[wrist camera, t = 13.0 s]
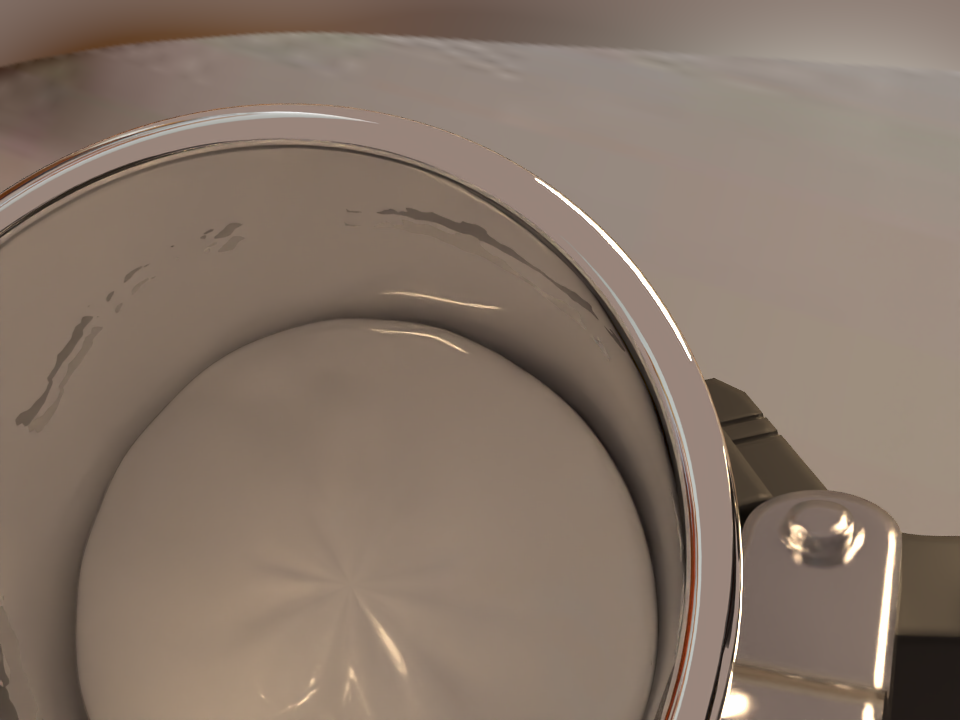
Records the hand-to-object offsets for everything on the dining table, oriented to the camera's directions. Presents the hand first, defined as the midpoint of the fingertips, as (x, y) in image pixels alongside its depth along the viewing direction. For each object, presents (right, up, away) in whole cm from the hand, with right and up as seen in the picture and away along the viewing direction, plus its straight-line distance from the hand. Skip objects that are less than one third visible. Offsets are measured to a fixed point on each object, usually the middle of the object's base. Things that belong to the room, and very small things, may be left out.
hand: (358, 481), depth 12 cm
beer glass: (+1, -5, +8) cm, 10 cm away
